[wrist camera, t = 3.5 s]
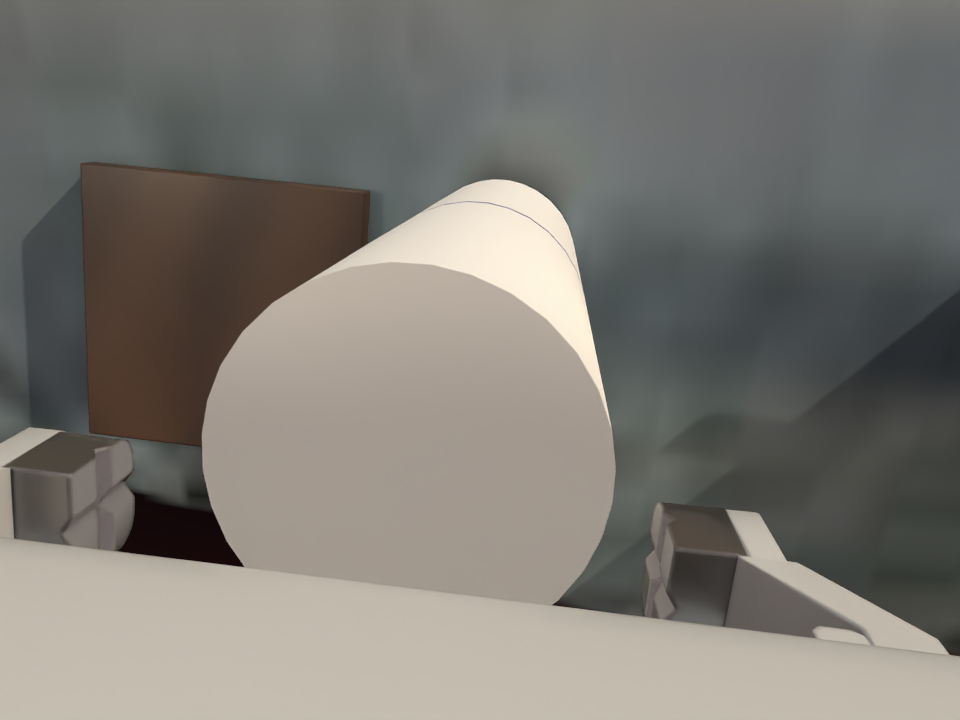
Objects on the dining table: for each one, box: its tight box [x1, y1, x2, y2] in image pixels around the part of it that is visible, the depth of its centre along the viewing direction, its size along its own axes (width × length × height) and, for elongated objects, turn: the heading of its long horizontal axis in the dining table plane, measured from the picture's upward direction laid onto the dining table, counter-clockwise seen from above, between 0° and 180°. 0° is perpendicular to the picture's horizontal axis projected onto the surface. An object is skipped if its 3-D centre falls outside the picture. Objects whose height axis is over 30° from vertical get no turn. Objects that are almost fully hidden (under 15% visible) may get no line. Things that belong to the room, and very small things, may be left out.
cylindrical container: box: [202, 179, 616, 605], centre depth 26 cm, size 7×7×25 cm
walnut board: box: [81, 162, 370, 447], centre depth 40 cm, size 13×13×1 cm
